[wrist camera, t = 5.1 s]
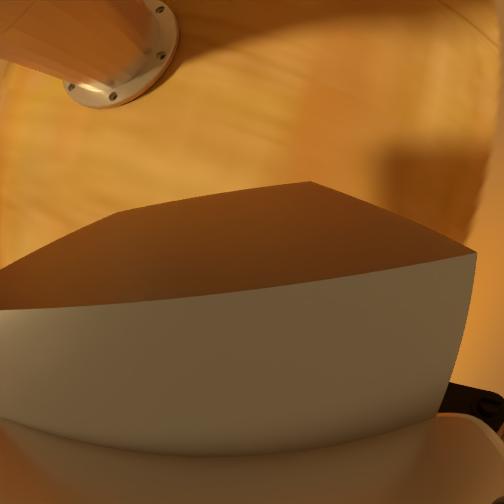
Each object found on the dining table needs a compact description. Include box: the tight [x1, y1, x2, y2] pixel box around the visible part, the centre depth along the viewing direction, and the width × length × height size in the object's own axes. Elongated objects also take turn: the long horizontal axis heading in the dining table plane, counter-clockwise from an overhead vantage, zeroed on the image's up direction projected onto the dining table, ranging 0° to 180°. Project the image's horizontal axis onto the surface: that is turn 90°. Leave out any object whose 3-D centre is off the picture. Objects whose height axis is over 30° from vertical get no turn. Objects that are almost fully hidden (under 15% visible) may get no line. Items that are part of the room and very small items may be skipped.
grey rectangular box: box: [0, 181, 477, 457], centre depth 8 cm, size 10×8×9 cm
